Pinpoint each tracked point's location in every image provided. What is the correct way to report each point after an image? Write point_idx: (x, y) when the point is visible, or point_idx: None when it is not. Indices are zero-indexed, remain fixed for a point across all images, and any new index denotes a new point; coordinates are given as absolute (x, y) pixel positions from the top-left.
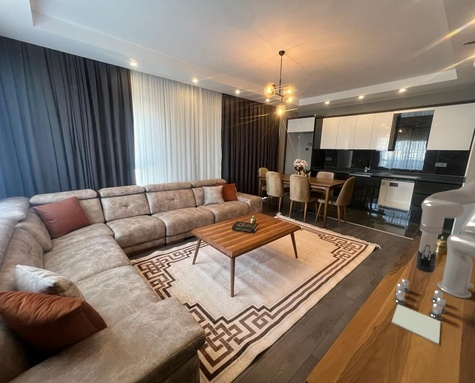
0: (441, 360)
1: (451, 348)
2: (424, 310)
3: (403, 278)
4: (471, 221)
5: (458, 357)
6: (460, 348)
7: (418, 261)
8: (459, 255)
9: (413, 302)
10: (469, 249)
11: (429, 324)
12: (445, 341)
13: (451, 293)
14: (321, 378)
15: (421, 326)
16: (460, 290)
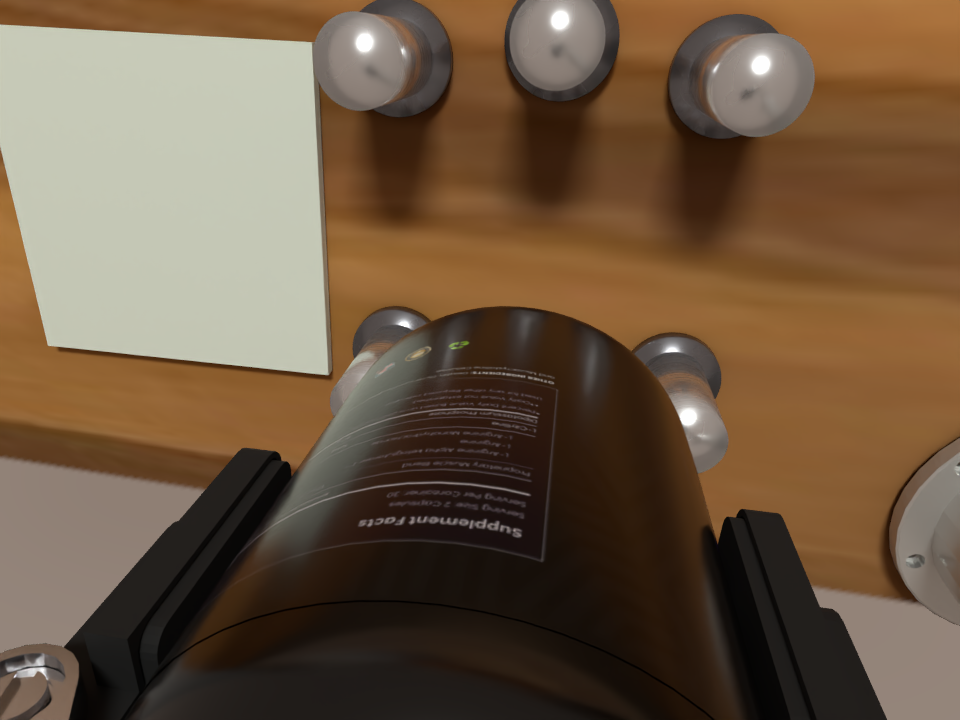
0: None
1: (95, 401)
2: (425, 274)
3: (801, 52)
4: None
5: (48, 423)
6: (144, 443)
7: (324, 441)
8: None
9: (498, 185)
10: None
11: (217, 303)
12: (133, 379)
13: (907, 503)
14: None
15: (133, 251)
16: (956, 591)
